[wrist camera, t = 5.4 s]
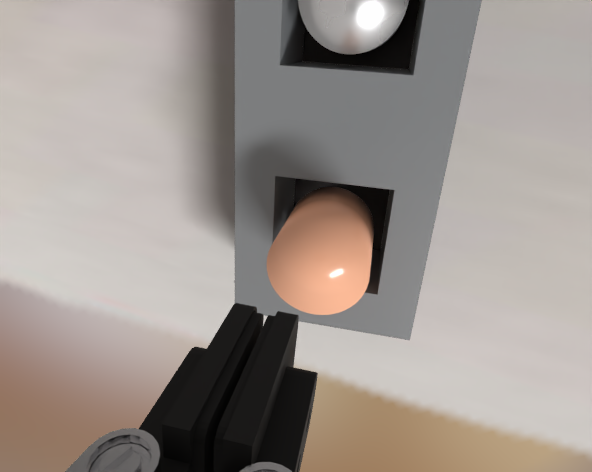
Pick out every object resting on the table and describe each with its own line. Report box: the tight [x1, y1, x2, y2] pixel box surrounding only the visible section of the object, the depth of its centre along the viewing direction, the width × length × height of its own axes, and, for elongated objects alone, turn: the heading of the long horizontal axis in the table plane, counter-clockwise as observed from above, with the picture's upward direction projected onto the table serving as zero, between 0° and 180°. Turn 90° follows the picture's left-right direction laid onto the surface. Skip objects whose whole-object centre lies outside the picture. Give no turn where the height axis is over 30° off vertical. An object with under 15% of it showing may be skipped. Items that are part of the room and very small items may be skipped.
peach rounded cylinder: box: [267, 187, 374, 315], centre depth 23 cm, size 5×5×6 cm
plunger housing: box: [235, 0, 482, 340], centre depth 24 cm, size 11×24×6 cm, turn 177°
